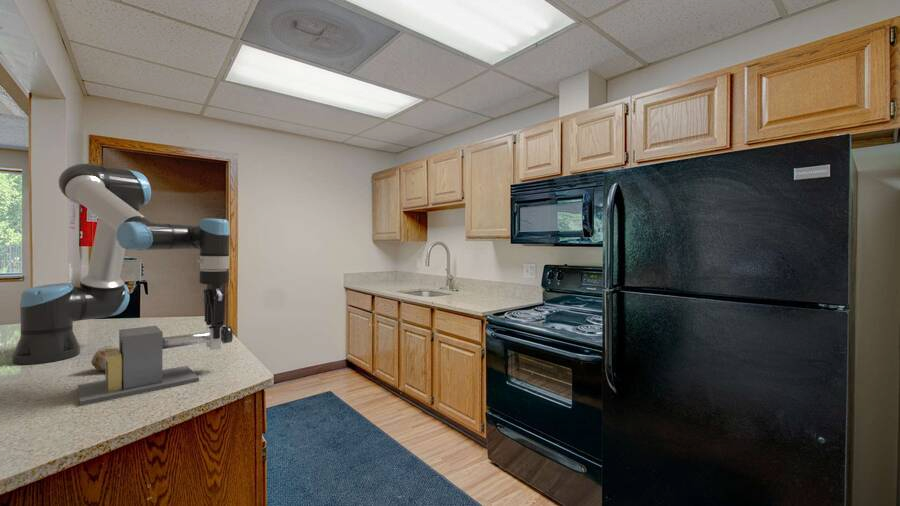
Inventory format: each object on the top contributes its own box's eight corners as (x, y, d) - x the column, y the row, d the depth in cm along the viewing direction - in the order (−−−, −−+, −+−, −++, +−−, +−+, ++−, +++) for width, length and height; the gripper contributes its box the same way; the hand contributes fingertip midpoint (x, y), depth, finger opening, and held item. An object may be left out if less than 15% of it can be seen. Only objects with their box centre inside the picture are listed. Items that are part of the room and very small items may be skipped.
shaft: (128, 355, 104) (128, 336, 104) (227, 340, 121) (227, 324, 121) (130, 359, 100) (131, 340, 100) (232, 344, 117) (232, 327, 117)
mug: (121, 376, 110) (100, 347, 109) (101, 386, 114) (81, 358, 112) (146, 362, 117) (126, 335, 116) (127, 372, 121) (108, 345, 119)
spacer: (105, 382, 102) (105, 349, 102) (117, 380, 104) (117, 347, 104) (108, 392, 96) (108, 356, 96) (121, 390, 98) (121, 354, 97)
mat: (77, 388, 100) (77, 384, 100) (187, 368, 117) (187, 365, 117) (80, 405, 90) (80, 401, 90) (198, 381, 108) (199, 377, 108)
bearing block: (119, 383, 105) (119, 329, 104) (155, 376, 110) (155, 325, 110) (123, 394, 98) (123, 336, 97) (162, 386, 103) (162, 332, 103)
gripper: (193, 268, 118) (192, 344, 119) (207, 272, 107) (206, 356, 108) (220, 268, 124) (219, 340, 124) (236, 271, 112) (235, 351, 113)
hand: (213, 347), depth 116 cm, fingers closed on shaft, 3 cm apart
